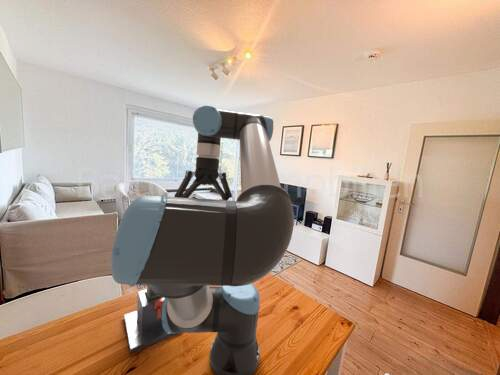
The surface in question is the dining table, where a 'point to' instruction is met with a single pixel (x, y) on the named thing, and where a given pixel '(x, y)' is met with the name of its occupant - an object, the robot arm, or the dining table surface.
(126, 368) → the dining table surface
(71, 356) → the dining table surface
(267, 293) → the dining table surface
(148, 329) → the sleeve
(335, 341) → the dining table surface
